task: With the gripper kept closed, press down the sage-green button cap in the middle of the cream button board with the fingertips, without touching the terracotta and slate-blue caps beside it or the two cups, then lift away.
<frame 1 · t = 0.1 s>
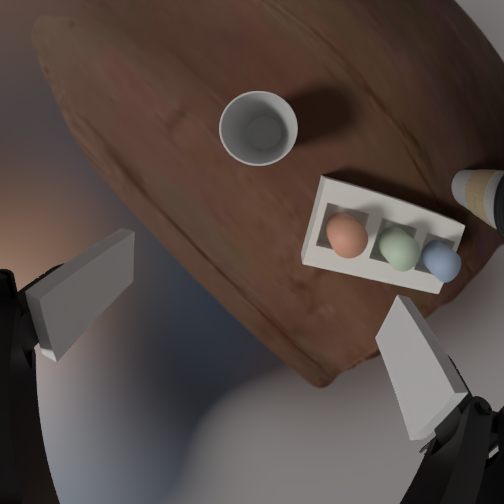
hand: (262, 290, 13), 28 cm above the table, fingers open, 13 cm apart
cup: (264, 133, 36), on the table
coffee cup: (463, 186, 34), on the table
slate cap: (440, 260, 33), point 6 cm above the table, slide at 0.0 cm
sage cap: (398, 248, 33), point 6 cm above the table, slide at 0.0 cm
terracotta cap: (345, 234, 33), point 6 cm above the table, slide at 0.0 cm
button board: (384, 234, 39), on the table
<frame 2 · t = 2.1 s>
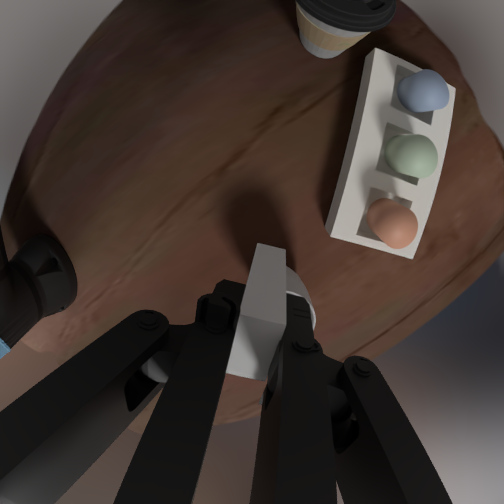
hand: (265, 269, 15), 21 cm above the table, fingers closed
cup: (277, 280, 39), on the table
coffee cup: (322, 39, 26), on the table
slate cap: (422, 92, 22), point 6 cm above the table, slide at 0.0 cm
sage cap: (410, 155, 25), point 6 cm above the table, slide at 0.0 cm
terracotta cap: (391, 222, 28), point 6 cm above the table, slide at 0.0 cm
button board: (390, 153, 31), on the table
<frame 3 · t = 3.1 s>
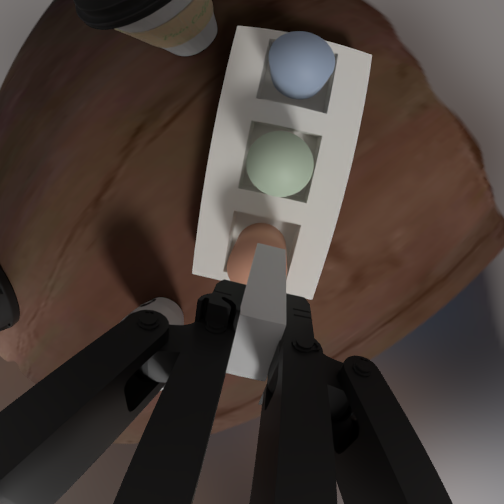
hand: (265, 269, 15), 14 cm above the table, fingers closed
cup: (166, 313, 34), on the table
coffee cup: (190, 33, 22), on the table
slate cap: (299, 67, 17), point 6 cm above the table, slide at 0.0 cm
sage cap: (279, 162, 20), point 6 cm above the table, slide at 0.0 cm
terracotta cap: (259, 257, 23), point 6 cm above the table, slide at 0.0 cm
button board: (279, 159, 26), on the table
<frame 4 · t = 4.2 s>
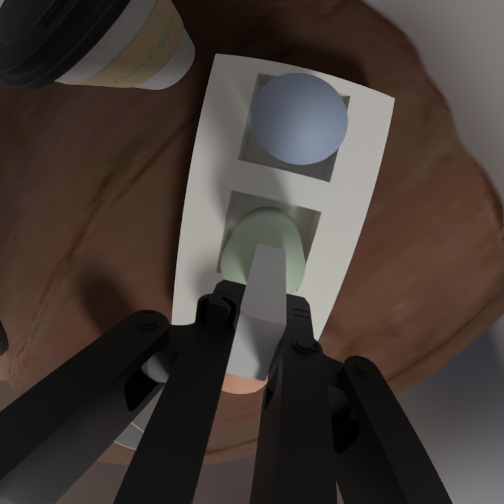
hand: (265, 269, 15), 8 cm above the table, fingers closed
cup: (149, 369, 30), on the table
coffee cup: (162, 59, 18), on the table
slate cap: (296, 122, 14), point 6 cm above the table, slide at 0.0 cm
sage cap: (265, 251, 17), point 5 cm above the table, slide at 0.5 cm, touching gripper
terracotta cap: (239, 350, 20), point 6 cm above the table, slide at 0.0 cm
button board: (268, 227, 22), on the table
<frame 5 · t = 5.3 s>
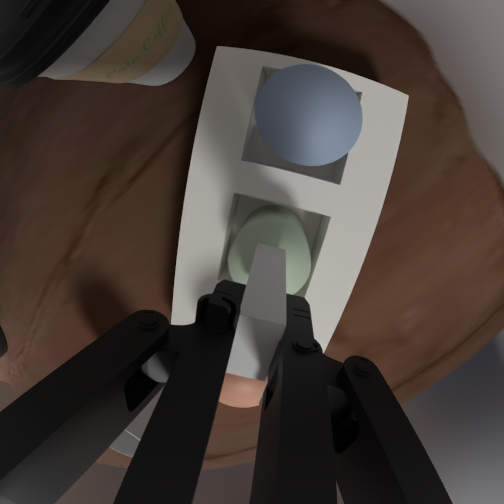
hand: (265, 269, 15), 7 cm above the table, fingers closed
cup: (149, 375, 29), on the table
coffee cup: (161, 53, 17), on the table
slate cap: (305, 119, 13), point 6 cm above the table, slide at 0.0 cm
sage cap: (271, 248, 18), point 4 cm above the table, slide at 2.1 cm
terracotta cap: (242, 361, 19), point 6 cm above the table, slide at 0.0 cm
button board: (273, 231, 21), on the table
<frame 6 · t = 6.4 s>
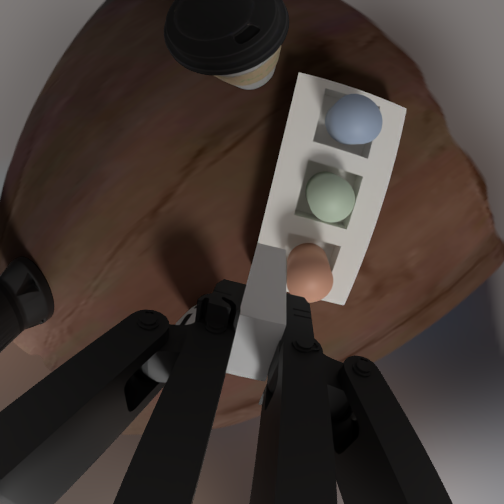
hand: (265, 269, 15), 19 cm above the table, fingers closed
coffee cup: (249, 67, 27), on the table
slate cap: (351, 121, 23), point 6 cm above the table, slide at 0.0 cm
sage cap: (328, 195, 28), point 4 cm above the table, slide at 2.1 cm
terracotta cap: (308, 271, 29), point 6 cm above the table, slide at 0.0 cm
button board: (324, 189, 31), on the table
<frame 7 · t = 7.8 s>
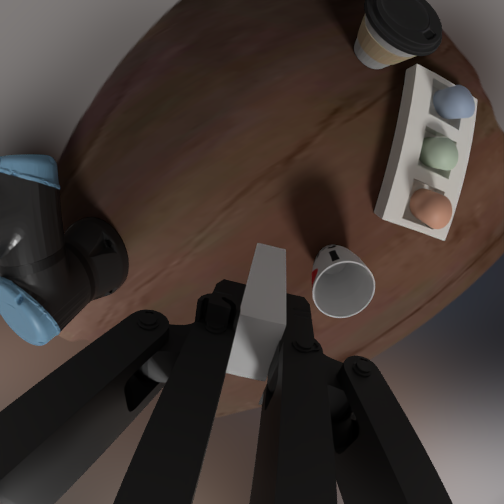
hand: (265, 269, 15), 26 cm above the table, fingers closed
cup: (332, 259, 42), on the table
coffee cup: (371, 52, 30), on the table
slate cap: (453, 102, 25), point 6 cm above the table, slide at 0.0 cm
sage cap: (437, 152, 30), point 4 cm above the table, slide at 2.1 cm
terracotta cap: (430, 207, 31), point 6 cm above the table, slide at 0.0 cm
button board: (425, 151, 34), on the table
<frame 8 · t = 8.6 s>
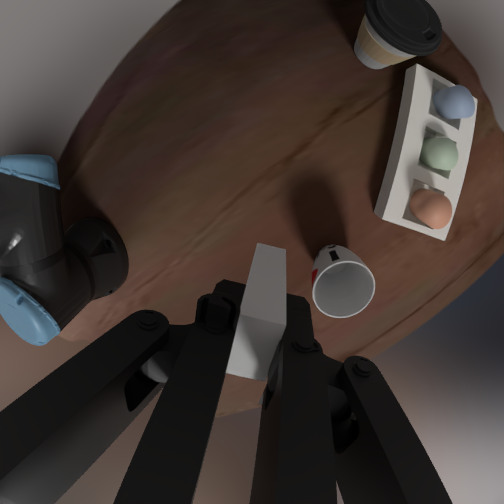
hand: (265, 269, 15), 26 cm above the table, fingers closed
cup: (332, 259, 42), on the table
coffee cup: (371, 52, 30), on the table
slate cap: (453, 102, 25), point 6 cm above the table, slide at 0.0 cm
sage cap: (437, 152, 30), point 4 cm above the table, slide at 2.1 cm
terracotta cap: (430, 207, 31), point 6 cm above the table, slide at 0.0 cm
button board: (425, 151, 34), on the table
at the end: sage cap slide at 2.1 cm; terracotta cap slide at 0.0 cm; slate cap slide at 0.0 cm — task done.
